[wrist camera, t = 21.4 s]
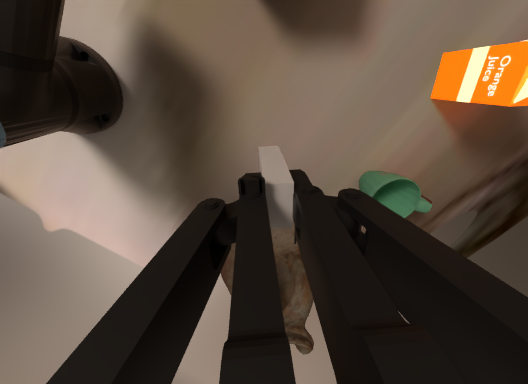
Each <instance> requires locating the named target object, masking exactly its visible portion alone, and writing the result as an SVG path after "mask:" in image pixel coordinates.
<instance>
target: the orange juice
mask: <svg viewBox="0 0 528 384" xmlns="http://www.w3.org/2000/svg"><path fill="white" fill-rule="evenodd" d="M431 98H432V99H442V100H452V101H459V102H469V103H470V102H472V103H482V104H491V105H501V106H508V107H510V106H526V105H528V41H525V40H524V42H517V43H510V44H503V45H496V46H487V47H480V48H474V49H468V50H461V51H454V52H447V53H443V56H442V60H441V63H440V67H439V70H438V74H437V77H436V81H435V85H434V88H433V92H432V95H431Z"/></svg>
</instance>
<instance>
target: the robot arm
mask: <svg viewBox="0 0 528 384" xmlns="http://www.w3.org/2000/svg"><path fill="white" fill-rule="evenodd" d="M64 4H65V0H0V148H2V147H6V146H9V145H13V144H16V143H20V142H23V141H27V140H30V139H34V138H37V137H40V136H44V135H47V134H51V133H55V132H58V131H63V132H71V133H79V134H90V133H96V132H99V131H102V130H105V129H107V128H109V127H111V126H112V125H113V124H114V123H115V122H116V121H117V120H118V118H119V116H120V114H121V111H122V106H123V97H122V91H121V87H120V84H119V82H118V79H117V77H116V75H115V73H114V72H113V70H112V69H111V67H110V66H109V65H108V63H107V62H106V61H105V60H104V59H103V58H102V57H101V56H100V55H99V54H98V53H97V52H96V51H94V50H93V49H91V48H90V47H89V46H87V45H85V44H83V43H81V42H79V41H77V40H74V39H70V38H66V37H62V36H59V33H60V27H61V21H62V16H63V10H64ZM259 161H260V173H246V174H245V175H244V176H243V177H241V178H239V180H238V187H239V200H237V201H235V202H233V203H230V204H226V205H225V202H224V201H223V200H222V199H217V198H210V199H206V200H204V201H202V202H201V203H199V204H198V205H197V207H196V208H195V209H194V210H193V211H192V212H191V214H190V215H189V216H188V217H187V218H186V219H185V221H184V222H183V223H182V224H181V225H180V227H179V228H178V229H177V230H176V231H175V232H174V234H173V235H172V236H171V237H170V238H169V240H168V241H167V242H166V243H165V244H164V245H163V247H162V248H161V249H160V250H159V251H158V252H157V254H156V255H155V256H154V257H153V258H152V260H151V261H150V262H149V263H148V264H147V265H146V267H145V268H144V269H143V270H142V271H141V273H140V274H139V275H138V276H137V277H136V278H135V280H134V281H133V282H132V283H131V284H130V285H129V287H128V288H127V289H126V290H125V291H124V293H123V294H122V295H121V296H120V297H119V299H118V300H117V301H116V302H115V303H114V304H113V306H112V307H111V308H110V309H109V310H108V311H107V313H106V314H105V315H104V316H103V317H102V318H101V320H100V321H99V322H98V323H97V324H96V326H95V327H94V328H93V329H92V330H91V332H90V333H89V334H88V335H87V336H86V337H85V338H84V340H83V341H82V342H81V343H80V344H79V346H78V347H77V348H76V349H75V350H74V351H73V353H72V354H71V355H70V356H69V357H68V359H67V360H66V361H65V362H64V363H63V364H62V366H61V367H60V368H59V369H58V371H57V372H56V373H55V374H54V375H53V376H52V377H51V379H50V380H49V381H48V382H47V383H46V384H171V383H172V381H173V378H174V376H175V374H176V371H177V369H178V367H179V365H180V362H181V360H182V358H183V356H184V354H185V351H186V349H187V346H188V345H189V342H190V340H191V338H192V336H193V333H194V331H195V329H196V326H197V324H198V322H199V320H200V318H201V315H202V313H203V311H204V308H205V306H206V304H207V302H208V300H209V297H210V295H211V292H212V291H213V288H214V286H215V284H216V281H217V279H218V277H219V275H220V272H221V270H222V268H223V266H224V263H225V261H226V259H227V257H228V254H229V252H230V250H231V246H232V245H231V244H234V243H236V246H235V258H234V271H233V283H232V296H231V308H230V321H229V333H228V339H227V341H226V342H225V343H224V347H223V353H222V361H221V371H220V381H219V384H296V382H295V376H294V370H293V363H292V357H291V350H290V345H289V340H288V337H287V335H286V331H285V325H284V318H283V311H282V304H281V297H280V290H279V284H278V277H277V270H276V263H275V256H274V249H273V242H272V235H271V229H276V228H290V227H293V221H294V224H295V233H294V244H296V241H297V243H298V247H299V250H300V254H301V257H302V261H303V264H304V268H305V271H306V275H307V278H308V282H309V285H310V289H311V292H312V296H313V299H314V303H315V306H316V310H317V313H318V317H319V320H320V324H321V327H322V331H323V334H324V337H325V341H326V345H327V348H328V352H329V355H330V359H331V362H332V366H333V369H334V373H335V377H336V381H337V384H528V297H527V296H525V295H523V294H522V293H520V292H519V291H517V290H516V289H514V288H512V287H511V286H509V285H508V284H506V283H505V282H503V281H501V280H500V279H498V278H497V277H495V276H494V275H492V274H490V273H489V272H488V271H486V270H484V269H483V268H481V267H480V266H478V265H477V264H475V263H473V262H472V261H470V260H469V259H467V258H466V257H464V256H463V255H461V254H459V253H458V252H456V251H455V250H453V249H452V248H450V247H449V246H447V245H445V244H444V243H442V242H441V241H439V240H437V239H436V238H435V237H433V236H431V235H430V234H428V233H427V232H425V231H424V230H422V229H420V228H419V227H417V226H416V225H414V224H413V223H411V222H410V221H408V220H406V219H405V218H403V217H402V216H400V215H399V214H397V213H396V212H394V211H392V210H391V209H389V208H388V207H386V206H385V205H383V204H381V203H380V202H378V201H377V200H375V199H374V198H372V197H371V196H369V195H367V194H366V193H364V192H362V191H360V190H356V189H353V188H348V189H343V190H340V191H339V193H338V197H334V196H326V195H324V193H323V192H322V190H321V189H320V188H318V187H316V186H313V185H312V184H311V182H310V180H309V179H308V177H307V175H306V173H305V172H304V171H302V170H300V169H298V170H288V167H287V165H286V162H285V160H284V158H283V155H282V153H281V151H280V148H279V146H263V147H259ZM362 225H363V226H364V227H365V228H366V233H365V234H364V233H363V232H362V231H361V226H362ZM398 311H399V312H400V313H401V314H402V315H403V317H404V318H405V319H406V320H407V321H408V322H409V323H410V324H408V323H407V322H406V321H405V320H404V319H403V318H402V316H401V315H400V313H399V312H398Z"/></svg>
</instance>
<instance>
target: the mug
mask: <svg viewBox="0 0 528 384" xmlns="http://www.w3.org/2000/svg"><path fill="white" fill-rule="evenodd" d="M359 187H360V191H362V192H364V193H366V194H367V195H369V196H371V197H372V198H374V199H375V200H377V201H378V202H380V203H381V204H383V205H385V206H386V207H388V208H389V209H391V210H392V211H394V212H396V213H397V214H399V215H400V216H402V217H403V218H406V217H407V216H408V215H410V214H411V213H412V212H413V211H414V210H415V211H419V212H423V213H427V212H429V211H430V209H431V207H432V202H431V201H430V200H429V199H427V198H425V197H424V196H422V195H421V191H420V187H419V186H418V185H417V184H416V183H415V182H414V181H412V180H410V179H408V178H406V177H403V176H400V175H397V174H393V173H389V172H382V171H369V172H366V173H364V174H363V175H362V176H361V178H360V180H359Z"/></svg>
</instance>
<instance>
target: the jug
mask: <svg viewBox="0 0 528 384" xmlns="http://www.w3.org/2000/svg"><path fill="white" fill-rule="evenodd" d="M294 233H295V224H294V221H293V227H290V228H276V229H271V235H272V242H273V249H274V256H275V263H276V270H277V277H278V284H279V290H280V297H281V304H282V311H283V318H284V325H285V331H286V335H287V337H288V340H289V344H295V345H296V348H297V349H298V350H299V351H300V352H301V353H302V354H308V353H310V352H311V351H312V350H313V346H314V341H313V339H312V337H311V335H310V334H309V333H308V332H307V330H306V329H305V322H306V319H307V317H308V315H309V313H310V310H311V307H312V303H313V296H312V292H311V289H310V285H309V282H308V278H307V275H306V271H305V268H304V264H303V261H302V257H301V254H300V250H299V247H298V243H297V241H296V244H294ZM231 245H232V246H231V250H230V252H229V254H228V257H227V259H226V261H225V263H224V266H223V268H222V270H221V272H220V273H221V276H222V278H223V281H224V283H225V284H226V286H227V288H228V290H229V292H230V294H231V296H232V283H233V271H234V258H235V246H236V243H234V244H231Z"/></svg>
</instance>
